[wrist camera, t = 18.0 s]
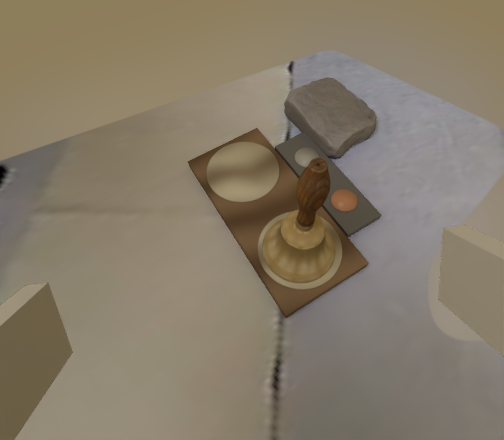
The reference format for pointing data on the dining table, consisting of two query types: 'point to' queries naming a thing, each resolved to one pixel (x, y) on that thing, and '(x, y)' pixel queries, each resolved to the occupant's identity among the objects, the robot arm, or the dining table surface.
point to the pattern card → (341, 189)
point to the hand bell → (302, 231)
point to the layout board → (267, 212)
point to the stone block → (330, 115)
